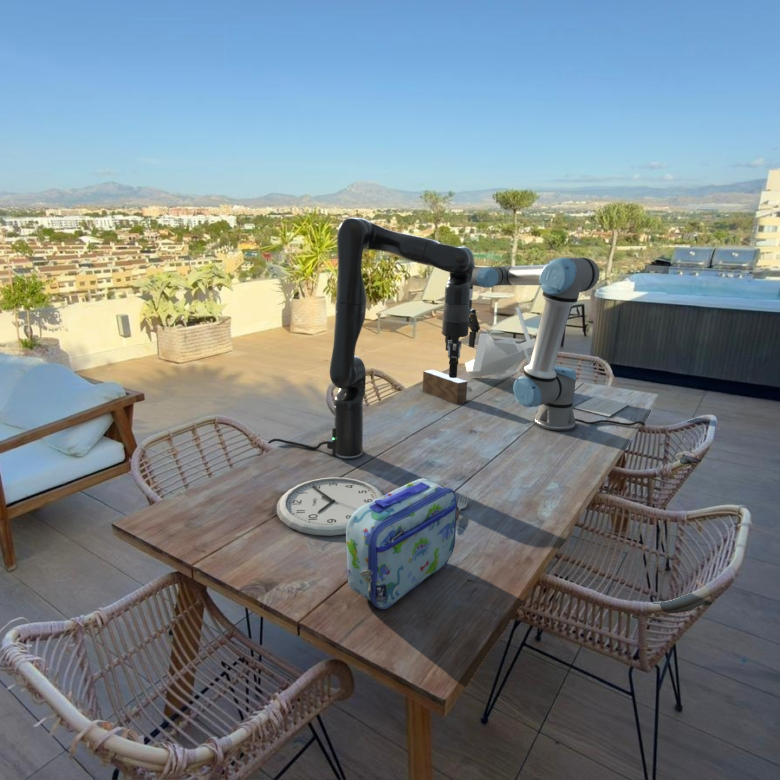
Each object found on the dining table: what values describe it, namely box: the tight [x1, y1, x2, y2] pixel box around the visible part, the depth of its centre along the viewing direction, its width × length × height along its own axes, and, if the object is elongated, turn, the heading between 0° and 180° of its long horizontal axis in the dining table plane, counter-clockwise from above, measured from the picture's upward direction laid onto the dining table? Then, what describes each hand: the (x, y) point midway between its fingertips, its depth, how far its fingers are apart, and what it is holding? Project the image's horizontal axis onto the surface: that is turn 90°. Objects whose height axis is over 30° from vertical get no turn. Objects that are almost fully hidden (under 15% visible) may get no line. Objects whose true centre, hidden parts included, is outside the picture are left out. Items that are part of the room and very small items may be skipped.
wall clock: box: [276, 476, 385, 537], centre depth 142 cm, size 30×2×30 cm
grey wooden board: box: [573, 396, 629, 418], centre depth 226 cm, size 21×1×15 cm
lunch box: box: [345, 477, 457, 610], centre depth 110 cm, size 26×11×21 cm, turn 134°
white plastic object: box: [464, 306, 536, 378], centre depth 259 cm, size 37×45×31 cm
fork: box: [456, 494, 470, 521], centre depth 139 cm, size 3×16×2 cm, turn 160°
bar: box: [422, 369, 468, 405], centre depth 235 cm, size 23×6×10 cm, turn 37°
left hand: (452, 373), depth 154 cm, fingers open, 8 cm apart
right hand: (460, 348), depth 223 cm, fingers open, 13 cm apart
